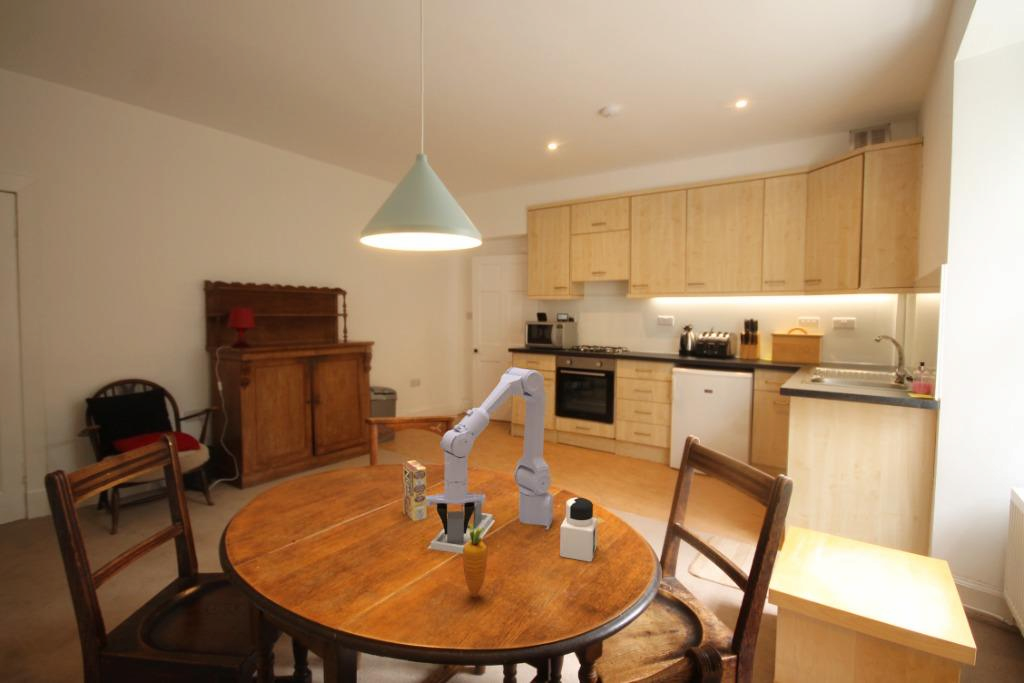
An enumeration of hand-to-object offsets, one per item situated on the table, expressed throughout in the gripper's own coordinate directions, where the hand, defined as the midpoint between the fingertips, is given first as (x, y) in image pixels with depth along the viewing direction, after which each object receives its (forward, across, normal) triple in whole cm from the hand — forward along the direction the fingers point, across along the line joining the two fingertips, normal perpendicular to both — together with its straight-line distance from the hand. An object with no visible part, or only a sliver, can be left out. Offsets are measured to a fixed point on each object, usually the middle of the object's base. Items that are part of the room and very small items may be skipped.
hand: (455, 532), depth 117 cm
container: (+4, -30, +5) cm, 31 cm away
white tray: (+4, -2, -5) cm, 7 cm away
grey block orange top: (+2, 0, 0) cm, 2 cm away
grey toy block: (+3, -4, -10) cm, 12 cm away
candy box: (+4, +12, -18) cm, 22 cm away
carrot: (+4, -4, +22) cm, 22 cm away
